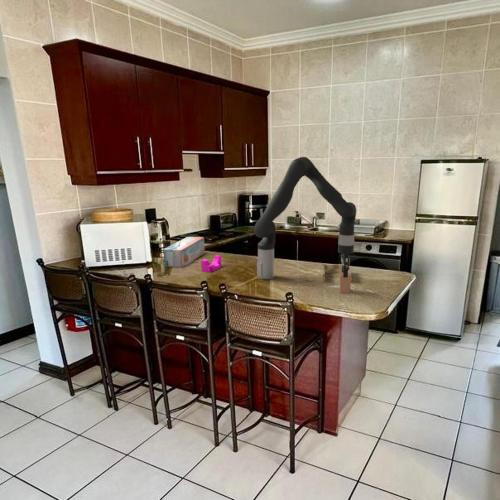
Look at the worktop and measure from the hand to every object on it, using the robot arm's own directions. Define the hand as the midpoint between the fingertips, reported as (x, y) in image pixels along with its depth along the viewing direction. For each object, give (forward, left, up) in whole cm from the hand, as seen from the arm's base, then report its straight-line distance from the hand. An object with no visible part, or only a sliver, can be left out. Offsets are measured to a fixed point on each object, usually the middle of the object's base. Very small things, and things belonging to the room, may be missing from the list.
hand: (344, 274), depth 192 cm
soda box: (-60, +104, -10) cm, 120 cm away
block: (0, 0, -9) cm, 9 cm away
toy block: (-49, +71, -10) cm, 87 cm away
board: (0, 0, -9) cm, 9 cm away
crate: (+10, +23, -9) cm, 26 cm away
